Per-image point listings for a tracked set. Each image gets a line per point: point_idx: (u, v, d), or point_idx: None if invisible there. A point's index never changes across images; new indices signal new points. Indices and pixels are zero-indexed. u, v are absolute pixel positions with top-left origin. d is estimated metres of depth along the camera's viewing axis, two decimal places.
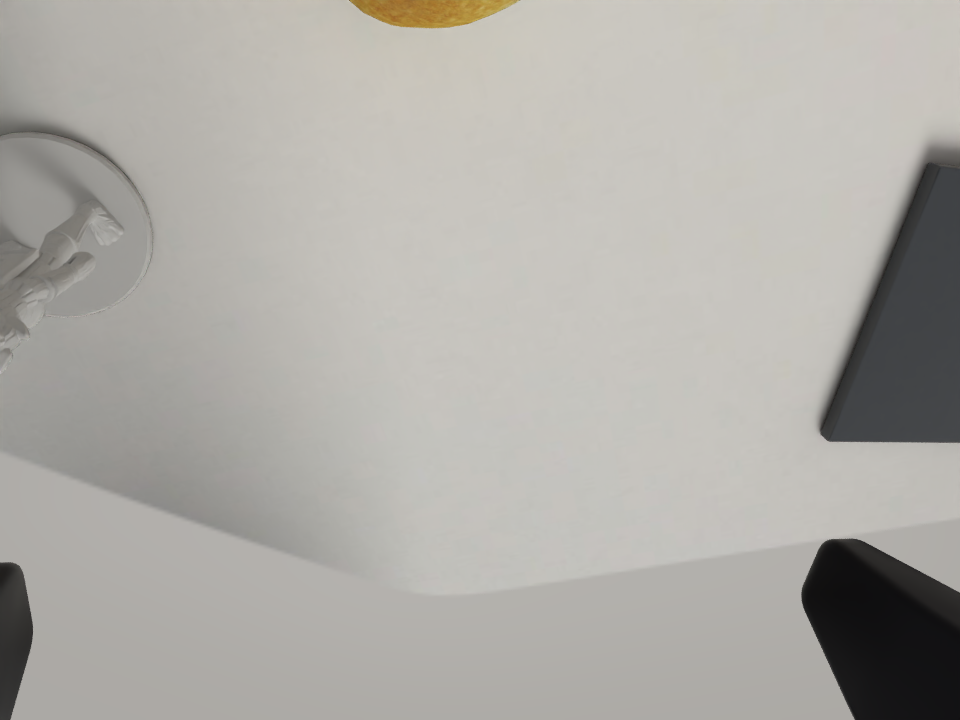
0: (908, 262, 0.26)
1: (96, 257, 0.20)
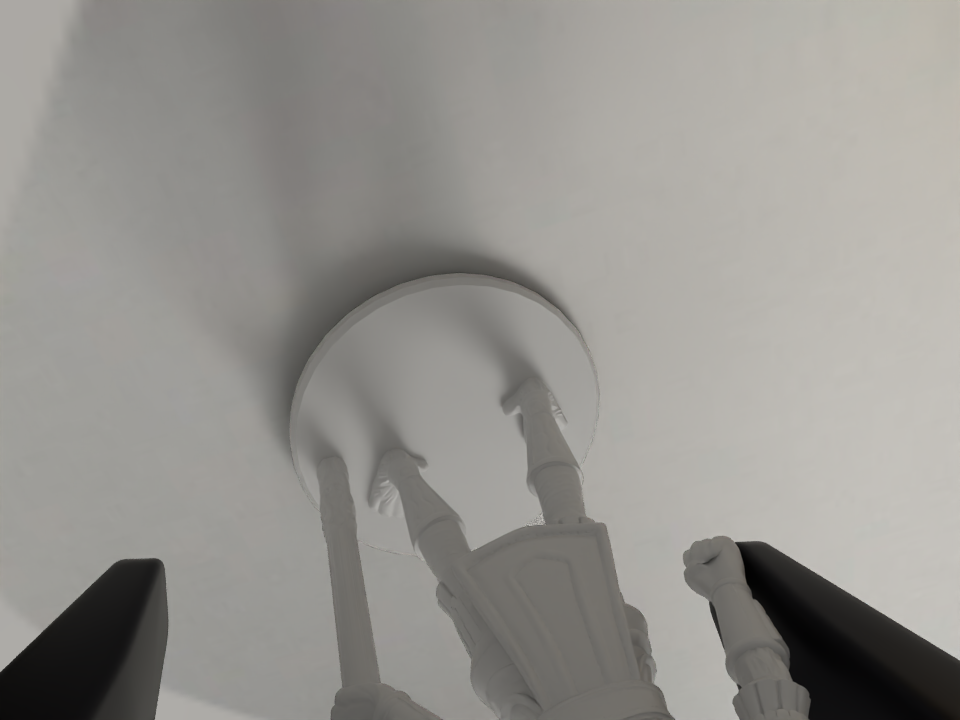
0: None
1: (513, 463, 0.12)
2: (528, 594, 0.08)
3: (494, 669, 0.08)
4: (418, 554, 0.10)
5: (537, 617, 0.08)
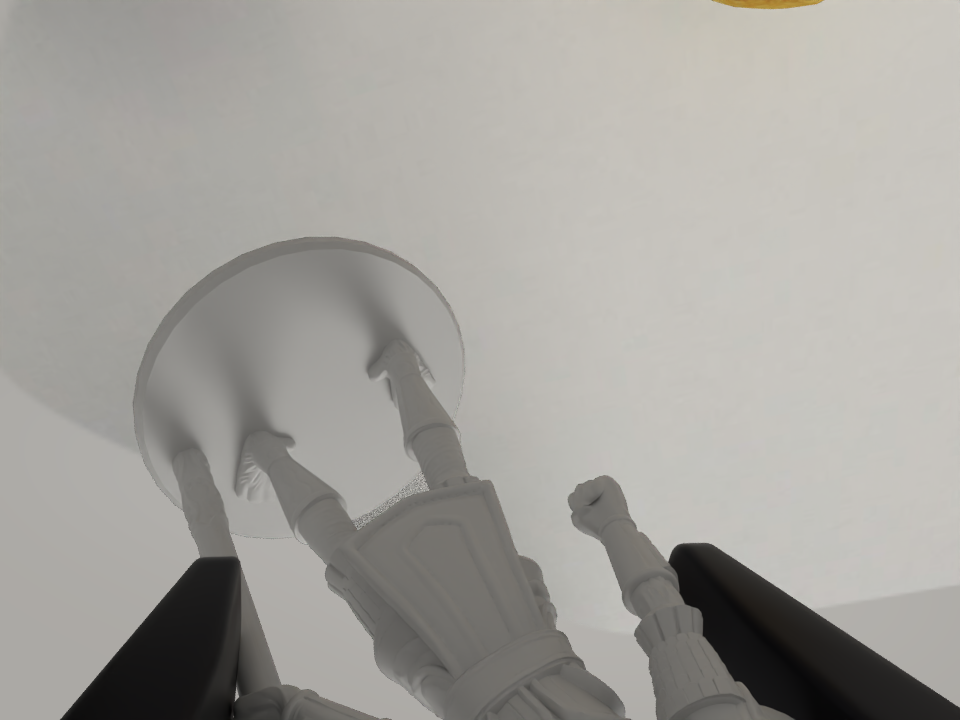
0: None
1: (384, 429, 0.12)
2: (423, 563, 0.08)
3: (399, 644, 0.07)
4: (299, 538, 0.10)
5: (437, 585, 0.07)
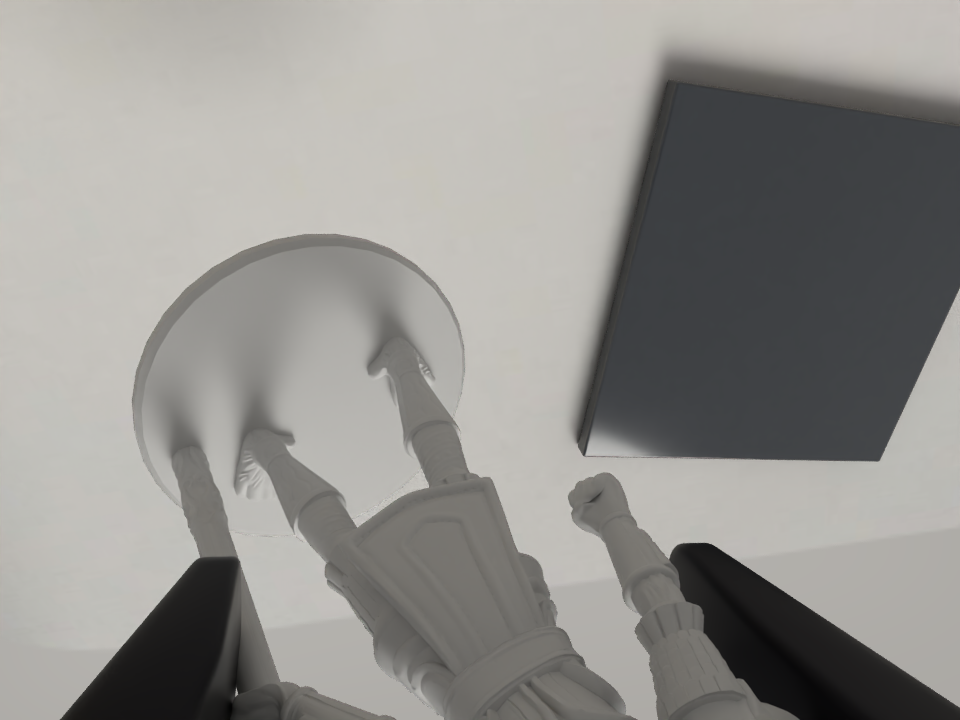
0: (653, 218, 0.19)
1: (383, 427, 0.12)
2: (423, 561, 0.08)
3: (398, 642, 0.07)
4: (298, 536, 0.10)
5: (436, 583, 0.07)
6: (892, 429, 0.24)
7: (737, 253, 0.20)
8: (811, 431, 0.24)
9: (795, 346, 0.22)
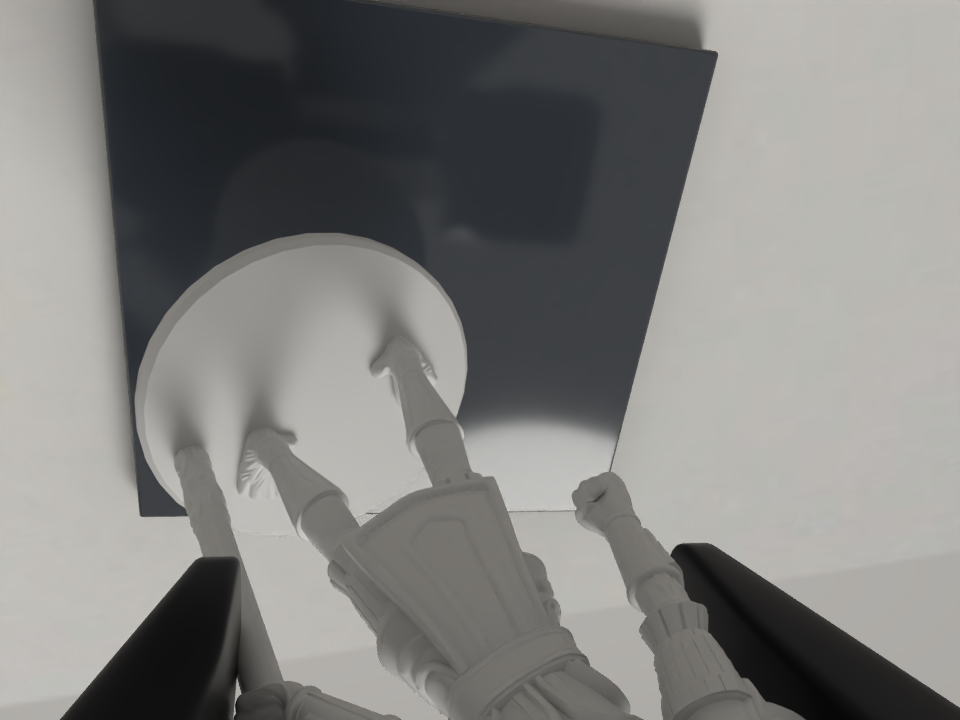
0: (126, 177, 0.13)
1: (386, 426, 0.12)
2: (427, 561, 0.08)
3: (402, 642, 0.07)
4: (301, 535, 0.09)
5: (440, 582, 0.07)
6: (607, 469, 0.18)
7: (286, 229, 0.14)
8: (485, 474, 0.17)
9: None
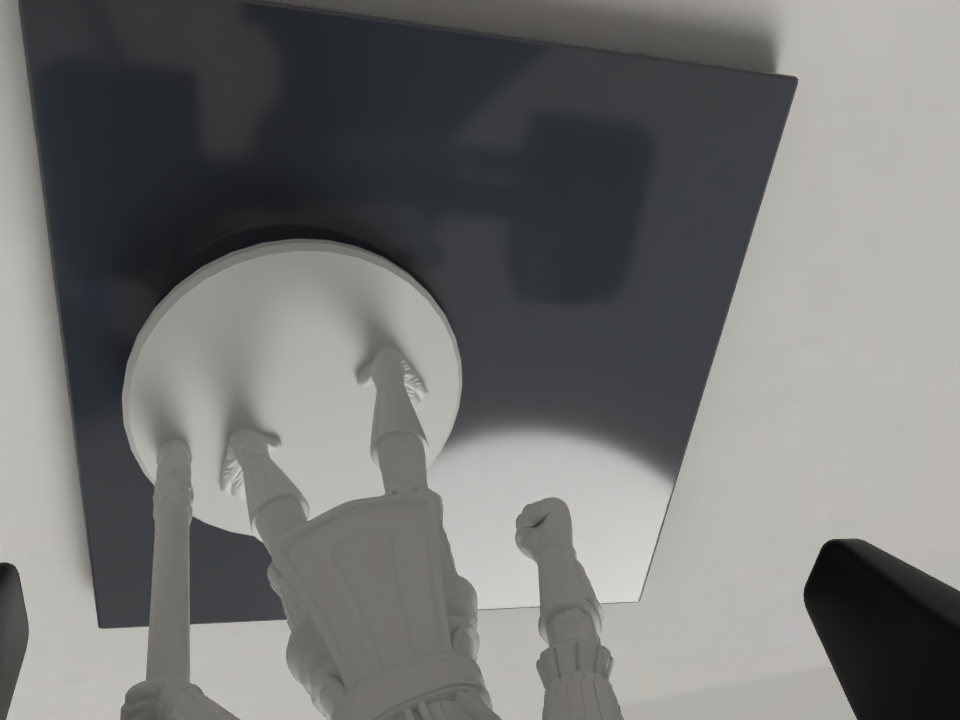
0: (70, 236, 0.10)
1: None
2: (344, 571, 0.07)
3: (307, 652, 0.07)
4: (257, 536, 0.10)
5: (350, 594, 0.07)
6: (650, 556, 0.15)
7: None
8: (508, 568, 0.15)
9: None
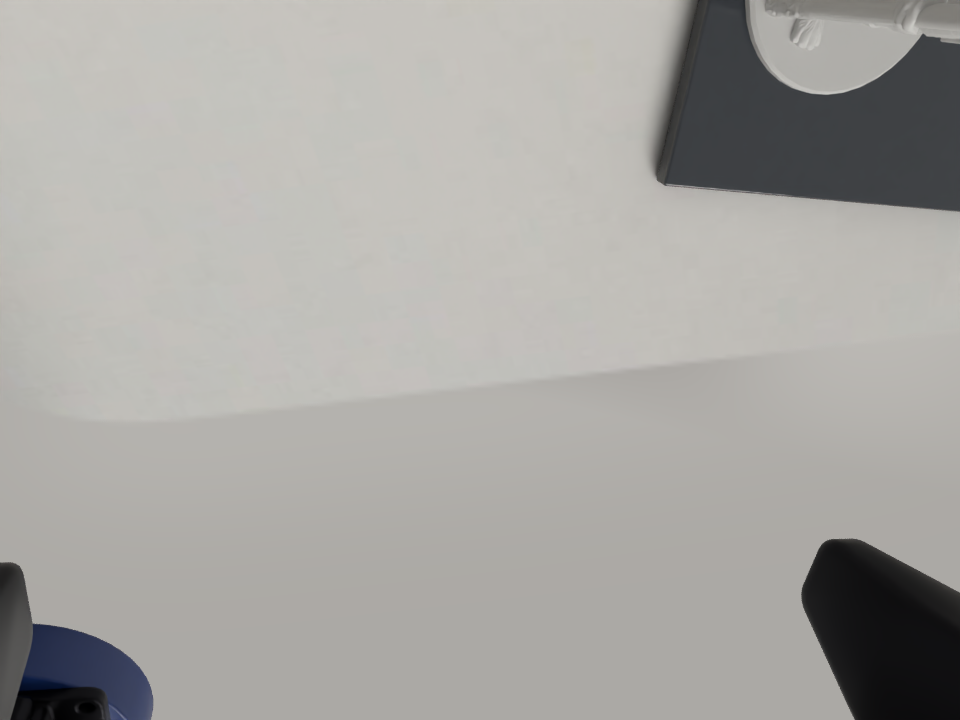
0: None
1: None
2: None
3: None
4: None
5: None
6: None
7: None
8: (926, 167, 0.20)
9: (914, 45, 0.19)
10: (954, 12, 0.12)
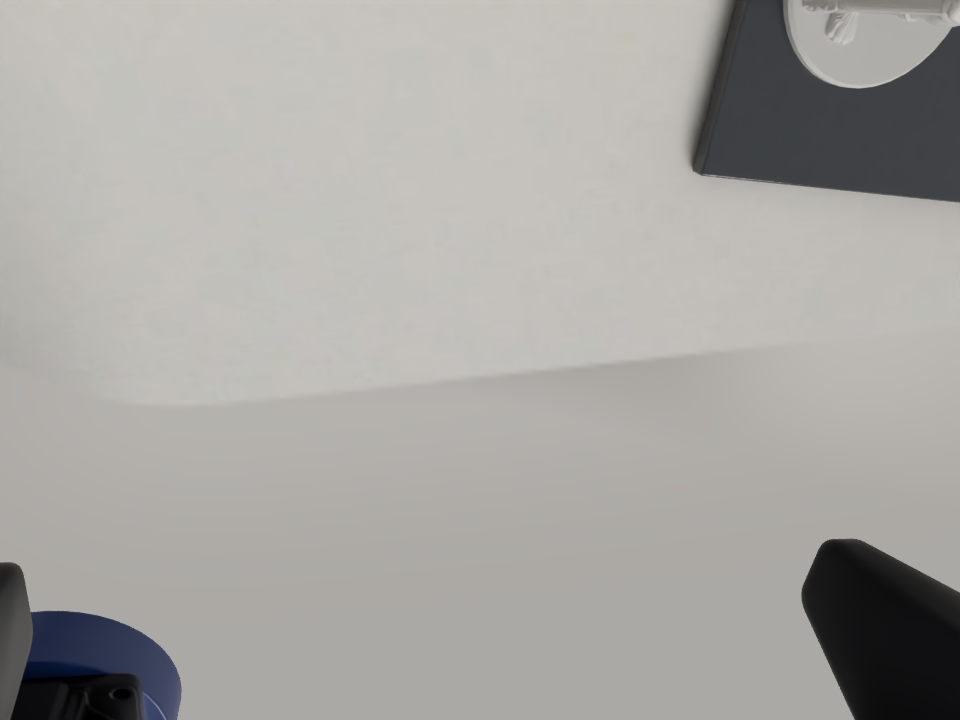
0: None
1: None
2: None
3: None
4: None
5: None
6: None
7: None
8: (950, 161, 0.21)
9: (941, 42, 0.19)
10: None
